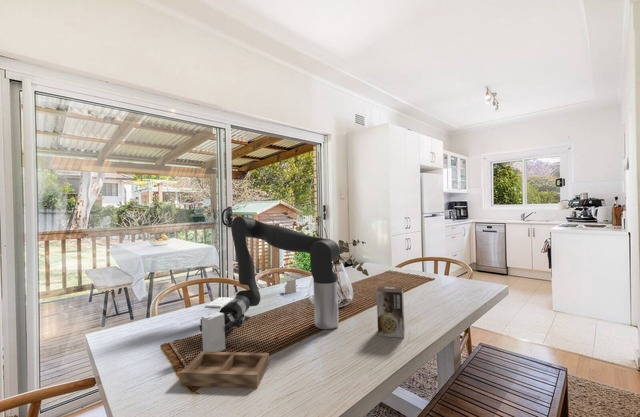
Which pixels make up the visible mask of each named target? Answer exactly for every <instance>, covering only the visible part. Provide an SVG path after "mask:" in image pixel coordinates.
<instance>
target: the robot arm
mask: <svg viewBox="0 0 640 417" xmlns="http://www.w3.org/2000/svg"><path fill="white" fill-rule="evenodd" d="M230 231H231V236H232V241H233V246H234V251H235V254H236V259H237V260H236V261H237V270H238V271H237V273H238V283H239V284H240V285H243V286H247V287H248V288H249V289H245V290H238V292H236V294H235V297H234V298H233V300H232V301H230V302H229V303H228V304H226V305H225V306H223V307H222V308H220V309H219V311H218V312H220V313H223V314H224V322H225V333H229V331H231V330H232V329H235V328H241V327H242V325H243V324H244V323H245V319H246V318H245V313H246V312H248V310H249V309H250V307H256V306H258V305H260V303H261V299H262V298H261V293H260V290H259V287H258V284H257V281H256V272H255V264H254V260H253V258H252V256H251V254H250V251H249V248H248V246H247V238H253V239H256V240H257V239H258V240H262V241H264V242H266V243H267V244H268V245H269V246H270V247H273V248H276V249H280V250H281V251H286V252H295V253H297V252H298V253H306V254H309V258H310V259H309V260H310V261H309V262H310V272H311V275H312V281H313V283H312V284H313V309H314V310H313V311H314V312H313V313H314V314H313V315H314V327H315V328H317V329H320V330H330V329H331V330H332V329H335V328H336V329H337V328H339V298H338V275H337V273H336V272H335V271H333V262H334V261H336V260H337V259H338V257H339V256H340V253H341V249H340V246H339V244H338V243H337V242H336V241H334V240H333V239H330V238H322V237H317V236H311V235H308V234H305V233H304V232H300V231H297V230H293V229H291V228H288V227H283V226H280V225H273V224H267V223H265V222H262V221H259V220H257V219H256V218H252V217H248V216H235V217H234V218H233V219H232V221H231V224H230ZM209 314H210V313H207V315H209ZM199 331H200V332H201V333H202V318H200V324H199Z"/></svg>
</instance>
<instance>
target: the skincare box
mask: <svg viewBox="0 0 640 417" xmlns="http://www.w3.org/2000/svg"><path fill="white" fill-rule="evenodd" d="M208 314H209V315H208ZM208 314H206V315H202V316H201V319H202V332H201V336H202V352H223V351H224V350H226V347H227V346H226V332H225V322H224V314H223V313H220V312H219V311H216V312H215V311H214V312H212V313H208Z"/></svg>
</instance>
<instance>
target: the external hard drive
mask: <svg viewBox="0 0 640 417" xmlns="http://www.w3.org/2000/svg"><path fill="white" fill-rule="evenodd" d="M222 299H223V300H222ZM232 300H234V298H233V297H225V296H223V297H222V296H220V297H218V298H216V299H214V300H212V301H211V302H209V303H207V304H205V306H204V307H205V308H210V307H212V308H214V309H221V308H222V307H224V306H225V305H226V304H228V303H229V302H230V301H232Z"/></svg>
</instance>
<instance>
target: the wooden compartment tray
mask: <svg viewBox="0 0 640 417" xmlns="http://www.w3.org/2000/svg"><path fill="white" fill-rule="evenodd" d="M269 366H270V353H269V352H241V351H240V352H237V351H235V352H234V351H233V352H232V351H220V352H203V351H200V353H198V354H197V355H196V356H195V357H194V359H192V360H191V361H190V362H189V363H188V364H187V365H186V366H185V367H184V368H183V369H182V370H181V371H180V372H179V380H180V382H179V383H180V387H204V388H205V387H206V388H207V387H209V388H237V389H239V388H240V389H241V388H242V389H258V388H259V386H260V384H261V381H262V380H263V378H264V376H265V374H266V373H267V370H268V368H269Z"/></svg>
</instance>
